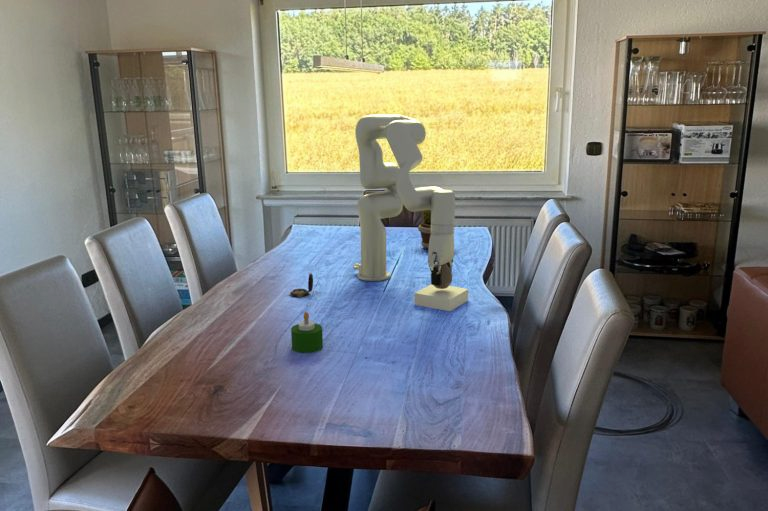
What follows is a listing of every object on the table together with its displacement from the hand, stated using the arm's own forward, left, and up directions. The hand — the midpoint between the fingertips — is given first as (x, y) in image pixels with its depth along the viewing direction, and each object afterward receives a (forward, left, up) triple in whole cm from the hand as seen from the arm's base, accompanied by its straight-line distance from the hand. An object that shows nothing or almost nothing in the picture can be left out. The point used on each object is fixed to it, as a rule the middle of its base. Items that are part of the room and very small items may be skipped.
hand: (441, 281), depth 203 cm
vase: (0, 0, -2) cm, 2 cm away
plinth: (0, 0, -7) cm, 7 cm away
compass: (-44, -18, -7) cm, 48 cm away
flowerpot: (-39, +68, -7) cm, 79 cm away
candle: (-13, -53, -7) cm, 55 cm away
